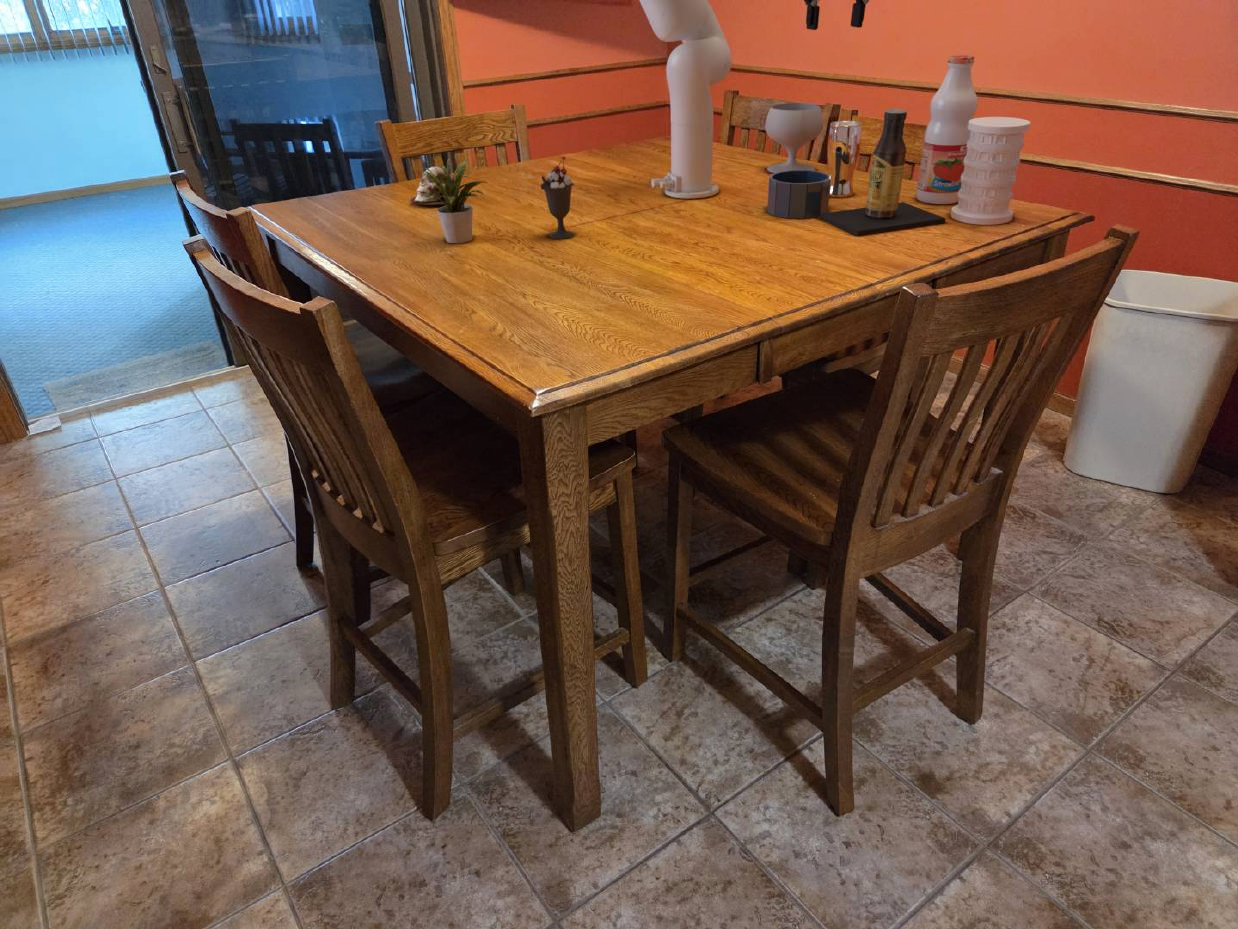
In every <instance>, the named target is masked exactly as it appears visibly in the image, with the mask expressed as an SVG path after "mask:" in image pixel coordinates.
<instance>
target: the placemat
mask: <svg viewBox="0 0 1238 929" xmlns="http://www.w3.org/2000/svg"><path fill="white" fill-rule="evenodd" d="M866 208H867V207H866V206H864V207H859V208H852V209H845V210H844V209H843V210H838V211H837V210H836V211H828V213H822V214H820V217H819V219H820V220H822V221H824V222H826V223H828V224H830V225H833V226H834V227H837V228H839V229H841V230H843V231H845V232H847V233H849V234H852V235H854V236H855V237H861V236H867V235H874V234H881V233H887V232H895V231H901V230H907V229H915V228H921V227H927V226H928V227H929V226H934V225H941V224H946V218H945V217H944V216H941V215H939V214H936V213H933V212H931V211H928V210H925V209H922V208H920V207H917V206H914V205H912V204H909V203H906V202H904V201H902V202H899V203H898V208H897V210H896V215H895V216H894V217H891V218H873V217H870V216H868V215H867V214H866Z"/></svg>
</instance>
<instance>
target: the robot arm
mask: <svg viewBox="0 0 1238 929" xmlns="http://www.w3.org/2000/svg"><path fill="white" fill-rule="evenodd" d="M803 1H804V5H806V7H807V8H806V14H805V15H806V16H805V25H806V30H811V31H816V30H818V29H819V22H820V21H819V20H820V10H821V7H820V5H818V4H819V2H820V1H821V0H803ZM869 2H870V0H855V2H853V4H852V8H851V17H850V27H852V28H862V27H863V22H864V20H865V13H866V5H867V4H869ZM639 3H640V5H641V7H642V9H643V11H644V12H643V13H644V14H645V16H646V18H647V21H648V23H649V25H650V26H651V29H652V31H653V33H654V34H655V36H656V37H657V38H658V40H660V41H662V42H665V43H666V42H667V43H674V42H679V41H681V42H682V43H681V44H679V45H678V46H676V47H675V48H674V49H673V50H672V51H671V53H670V54H669V56H668V59H667V62H666V70H665V71H666V73H665V74H666V81H667V86H668V92H669V103H670V104H669V106H670V172H669V171H668V172H667V173H666V175H665V176H664V177H662V178H660V177H658V178H652V179H651V180H650V181H651V187H652V188H661V189H664V194H665V195H667V196H668V197H671V198H675V199H686V200H687V199H693V200H695V199H703V198H708V197H713V196H715V195H717V194H718V193H719V192H720V190H719V188H720V187H719V185H717V184H716V183H713V162H714V160H713V159H714V158H713V156H714V102H713V98H712V94H711V89H710V86H714V85H717V84H719V83H721V82H722V81H724V80H725V79H726V78H727V77H728V75H729V73H730V71H731V70H732V63H733V59H732V52H731V49H730V46H729V44H728V41H727V39H726V37H725V34H724V32H723V30H722V27H721V25H720V23H719V21H718V19H717V16H716V14H715V12H714V10H713V8H712V6H711V3H710V2H709V1H708V0H639Z"/></svg>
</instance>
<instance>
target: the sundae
mask: <svg viewBox="0 0 1238 929" xmlns="http://www.w3.org/2000/svg"><path fill="white" fill-rule="evenodd" d="M566 159H567V157H566V156H562V157H561V161H560V162H559V163H558V165H555V166H554V167H553V168H552V170H550V171H549V172H548V173H547V175H546V178H545V176H544V175H542V176H541V180H542V182H543V183H541V184H540V189H541V190H542V191H544V194H545V198H546V202H547V207H548V211H549V213H550V214H551V215H552V216H553V217H554V218H555V219H556V220H557V229H556V231H554V232H551V233H550V234H549V238H551V239H553V240H563V239H564V240H566V239H570V238H572V237H574V232H572V231H568V230H567V229H566V227H565V223H564V219H565V218H566V216H568V214H569V213H570V210H571V195H572V188H573V186H574V185H575V183H573V182H572V179H571V178H570V176H569V175H568V174H567V173H568V171H567V169H565V164H564V161H565V160H566ZM561 163H562V168H560V165H561Z"/></svg>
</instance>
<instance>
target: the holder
mask: <svg viewBox="0 0 1238 929" xmlns="http://www.w3.org/2000/svg"><path fill="white" fill-rule="evenodd" d="M830 182H831V175H829V173H825V172H823V171H818V170H815V171H811V170H789V171H781V172H777V173H772V174H769V177H768V188H767V190H768V192H767V207H766V208H767V211H766V213H768V214H769V215H772V216H774V217H778V218H784V219H796V220H797V219H800V220H802V219H813V218H820V214H822V213H829V202H830V196H829V193H830Z"/></svg>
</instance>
